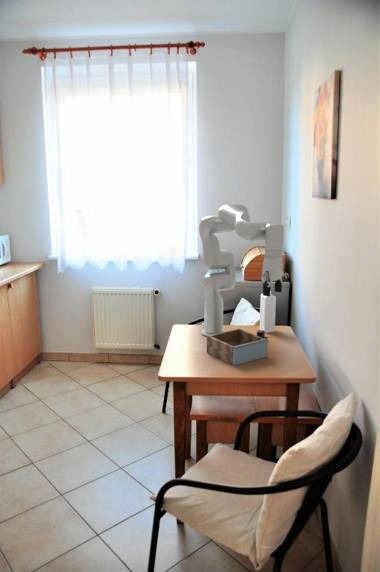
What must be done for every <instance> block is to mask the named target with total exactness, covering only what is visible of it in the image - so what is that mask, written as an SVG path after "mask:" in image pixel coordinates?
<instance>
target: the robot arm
mask: <svg viewBox="0 0 380 572" xmlns="http://www.w3.org/2000/svg"><path fill="white" fill-rule="evenodd" d="M250 221H251V216H250V214H249V211H248V208H247V207H246V206H245V205H244V204H224V205H222V206H220V208H219V209H218V211H217V215H207V216H205V217H203V218H201V220H200V222H199V224H198V232H199V236H200V239H201V244H202V256H203V263H204V267H205V269H206V270H208V271H214V272H211V273H207V274H205V275H204V277H203V278H202V288H203V295H204V309H203V310H204V313H203V314H204V316H203V317H204V318H203V320H204V321H203V323H201V327H203V328H202V329H201V331H200V334H201V335H203V336H206V337H207V336H209V335H213V334H218V333H223V332H227V330H225V329H224V299H223V296H222V295H221V293H220V292H221V291H229V290H232V289H234V288H235V286H236V283H237V277H236V263H235V257H234V254H233V253H232V252H231V251H230V250H228V249H221V248H220V241H219V239H218V237H217V236H216V235H215V234H221V233H231V232H233V231H235V234H236V235H237V236H239V237H241V238H242V239H244V240H246V241H251V242H253V241H264V258H263V263H262V271H261V277H260V280H261V285H262V294H263V296H270V291H271V284H272V283H273V282H274V292H277V293H282V291H283V290H282V289H283V282H284V281H283V280H284V274H285V271H284V270H283V269H284V265H283V264H284V262H283V258H284V239H285V238H284V236H285V226H284V225H283V224H281V223H273V222H270V221H263V222H262V221H259V222H258V221H257V222H250ZM216 270H217V272H215V271H216ZM218 270H221V271H218Z"/></svg>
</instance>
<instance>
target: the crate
mask: <svg viewBox="0 0 380 572" xmlns="http://www.w3.org/2000/svg"><path fill="white" fill-rule="evenodd" d="M262 339H264V338H262V337H259V336H257V334H253V333H251V332H248V331H246V330H243V329H241V328H238V329H233V330H228V331H227V330H226V332H223V333H218V334H213V335H209V336H206V353H208V354H210V355H212V356H213V357H216V358H218V359H219V360H222V361H224V362H225V363H228V364H230V365H233V346H237V345H241V344H245V343H249V342H254V341H258V340H262Z"/></svg>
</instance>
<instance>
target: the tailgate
mask: <svg viewBox="0 0 380 572" xmlns="http://www.w3.org/2000/svg"><path fill="white" fill-rule="evenodd" d="M268 341H269V339H268V338H267V339H262V340H258V341H254V342H249V343H245V344H241V345H237V346H233V364H232V365H233V366H238V365H241V364H245V363H249V362H252V361H255V360H260V359H264V358H266V357H268Z"/></svg>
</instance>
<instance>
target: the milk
mask: <svg viewBox="0 0 380 572" xmlns="http://www.w3.org/2000/svg"><path fill="white" fill-rule="evenodd" d="M276 304H277V296H276V295H274V294H272V290H270V296H263V293H261V294H260V304H259V305H260V307H259V330H263V331H265V334H268V333H274V332H275V330H276Z"/></svg>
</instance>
